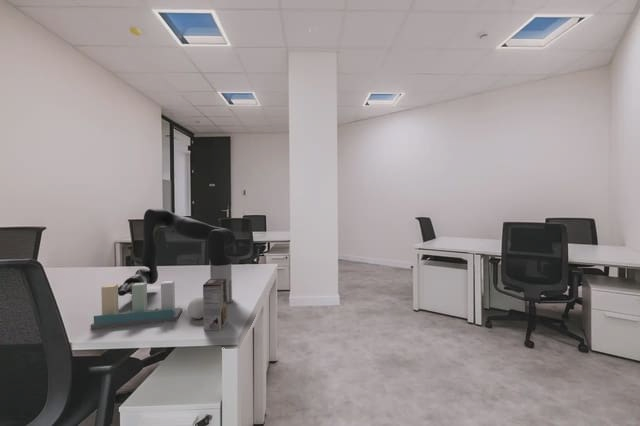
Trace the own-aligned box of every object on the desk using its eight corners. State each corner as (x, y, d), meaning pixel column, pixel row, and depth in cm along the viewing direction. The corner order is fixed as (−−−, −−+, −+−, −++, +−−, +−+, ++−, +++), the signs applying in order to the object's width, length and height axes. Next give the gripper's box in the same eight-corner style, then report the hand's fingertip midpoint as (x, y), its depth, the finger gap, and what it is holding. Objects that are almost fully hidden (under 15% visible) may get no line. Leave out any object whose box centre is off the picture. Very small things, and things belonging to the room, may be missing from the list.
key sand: (118, 315, 118) (117, 284, 118) (114, 318, 114) (113, 286, 114) (106, 316, 117) (106, 284, 117) (102, 319, 113) (101, 287, 113)
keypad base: (182, 311, 127) (182, 300, 127) (176, 321, 115) (175, 309, 115) (105, 317, 120) (105, 306, 120) (90, 329, 108) (90, 316, 108)
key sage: (147, 312, 120) (146, 282, 120) (144, 316, 116) (143, 284, 116) (135, 313, 119) (135, 283, 119) (132, 317, 115) (131, 285, 115)
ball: (184, 322, 114) (184, 301, 114) (191, 315, 122) (191, 295, 122) (206, 321, 115) (206, 300, 114) (212, 314, 123) (212, 294, 122)
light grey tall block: (174, 310, 123) (174, 280, 122) (172, 313, 119) (172, 282, 119) (163, 311, 122) (163, 281, 121) (161, 314, 118) (160, 283, 118)
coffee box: (210, 321, 115) (209, 278, 114) (227, 320, 115) (227, 278, 115) (202, 331, 105) (202, 284, 105) (222, 330, 106) (221, 283, 106)
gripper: (119, 276, 141) (102, 285, 124) (151, 274, 144) (138, 283, 127) (119, 292, 141) (102, 303, 124) (151, 290, 144) (139, 301, 127)
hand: (121, 293), depth 126 cm, fingers closed
